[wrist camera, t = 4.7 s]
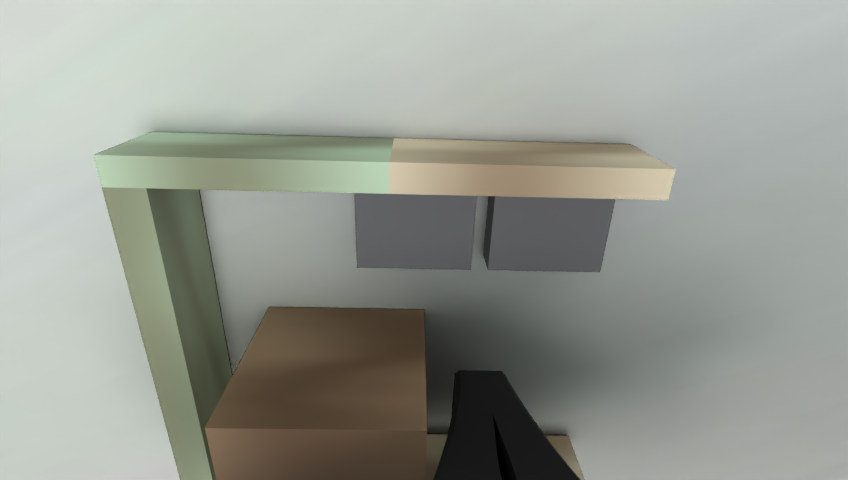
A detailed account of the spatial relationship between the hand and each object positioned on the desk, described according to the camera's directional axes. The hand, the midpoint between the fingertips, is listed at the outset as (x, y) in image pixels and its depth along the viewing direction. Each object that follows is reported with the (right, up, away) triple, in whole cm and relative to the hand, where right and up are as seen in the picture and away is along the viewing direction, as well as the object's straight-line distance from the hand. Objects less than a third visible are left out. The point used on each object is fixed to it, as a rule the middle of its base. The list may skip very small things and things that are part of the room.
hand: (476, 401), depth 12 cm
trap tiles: (0, +5, -1) cm, 5 cm away
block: (-3, +1, +1) cm, 4 cm away
